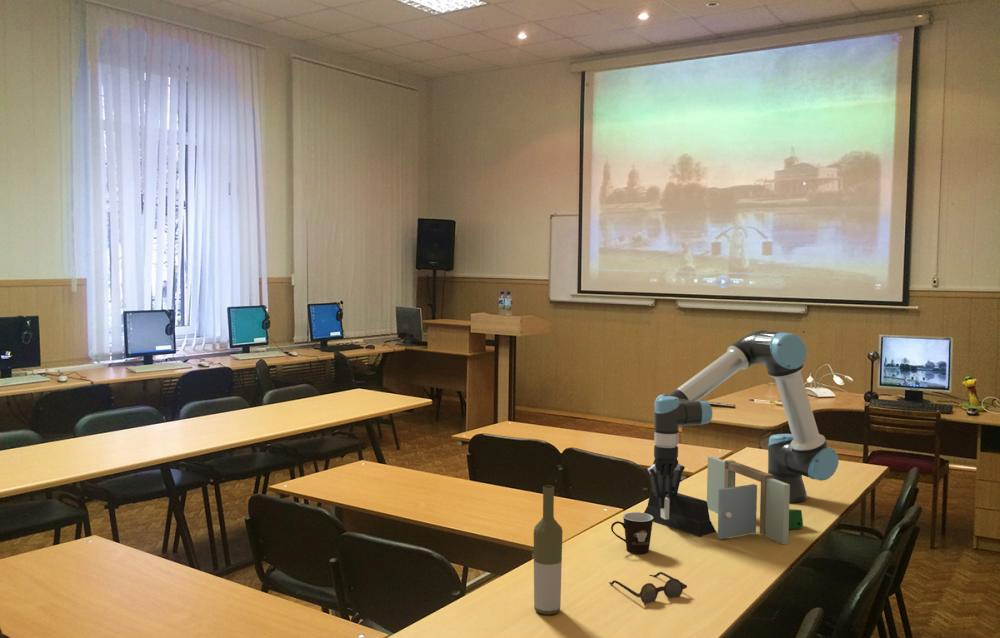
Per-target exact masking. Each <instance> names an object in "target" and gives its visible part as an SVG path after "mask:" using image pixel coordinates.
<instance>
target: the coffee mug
mask: <svg viewBox="0 0 1000 638" xmlns="http://www.w3.org/2000/svg"><path fill="white" fill-rule="evenodd" d="M622 519H623V522H622V521H619V520H617V521H614V522H612V524H611V525H610V526H611V527H610V530H611V532H612V534H614V536H615V537H617V538H619V539H620V540H621V541H623V542H624V543H625V548H626V551H627V552H628V553H630V554H633V555H646V554H648V553H650V552H649V551H650V544H651V536H652V530H653V524H654V522H653V516H651V515H649V514H646V513H644V512H639V511H636V512H635V511H633V512H626V513H624V514H623V516H622ZM617 524H620V525H621V526H622V527H623V529H624V536H625V537H622V536H620V535H618V534H617V533H616V532H615V530H614V526H615V525H617Z"/></svg>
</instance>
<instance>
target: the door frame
mask: <svg viewBox="0 0 1000 638" xmlns="http://www.w3.org/2000/svg"><path fill="white" fill-rule="evenodd" d="M706 474H707V475H706V477H707V478H706V479H707V480H706V481H707V482H706V502H707V505H708V510H710V511H712V512H714V513H716V514H718V502H719V489H724V488H731V487H736V474H738V475H741V476H743V477H744V476H745V477H747V478H749V479H751V480H755V481H757V482H760V503H759V504H760V505H759V507H760V508H759V535H762V536H763V537H766V538H769V539H771V540H773V541H775V542H777V543H779V544H782V545H788V544H789V530H790V529H789V509H790V503H789V497H790V484H787V483H784V482H781V481H779V480H776V479H773V475H772V474H770V473H768V472H764V471H762V470H759V469H757V468H753V467H752V466H748V465H745V464H743V463H739V462H737V461H736V460H733V459H729V460H724V459H722V458H718V457H715V456H707V473H706Z"/></svg>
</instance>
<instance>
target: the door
mask: <svg viewBox="0 0 1000 638" xmlns="http://www.w3.org/2000/svg"><path fill="white" fill-rule="evenodd" d="M757 500H758V485H757V484H746V485H738V486H735V487H731V488H724V489H719V502H718V513H717V514H718V515H717V539H720V540H723V539H729V538H735V537H740V536H741V537H742V536H746V535H751V534H756V533H757V509H758V508H757V507H758V506H757V502H758V501H757Z"/></svg>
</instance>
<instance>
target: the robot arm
mask: <svg viewBox="0 0 1000 638" xmlns="http://www.w3.org/2000/svg"><path fill="white" fill-rule="evenodd" d="M807 354H808V351H807V347H806V344H805V342H804V340H803V339H802V338H800V336H798V335H797V334H795V333H790V332H786V331H773V330H772V331H771V330H755V331H753V332H750V333H748V334H747V335H744V336H743V337H741V338H740V339H738V340H736V341H735V342H734V343H732V344H731V345H730V346H728V347H727V350H726V352H725V353H723V354H722V355H721V356H719V358H718V357H717V359H716V360H714V361H713V362H711V363H710V364H708V365H707V366H706V367H705V368H703V369H702V370H701V371H698V372H697V373H696V374H695V375H694V376H692V377H691V378H689V379H688V380H687V381H686V382H684V383H682V384H681V385H680V386H679V387H677V388H676V389H674V390H673V391H671V392H670V393H669V394H667V393H663V394H660V395H658V396H657V397H656V398H655V400H654V403H653V404H654V411H653V412H654V433H653V434H654V438H653V442H654V444H655V445H654V446H653V457H654V460H653V463H652V465H651V466H650V467H646V471H647V473H648V475H649V479H650V484H651V489H652V490H653V495H654V496H656V497H658V498H659V508H661V518H663V519H669V508H671V499H673V498H674V497H673V496H676V495H677V493H679V487H680V484H681V478H682V474H683V472H684V471H685V468H686V467H685V466H684V465H681V464H680V462H679V460H678V457H679V447H678V445H679V429H680V428H679V427H682V426H702V425H706V424H707V425H708V424H709V423H710V422H711V421H712V419H713V408H712V406H711V403H709V402H708V401H705V400H701V399H702V398H704V397H705V396H706V395H708V394H710V393H711V392H712V391H714V390H715V389H716V388H718V387H719V386H720V385H721V384H723V383H724V382H725V381H727V380H728V379H730V378H731V377H732V376H733V375H735V374H736V373H738V372H739V371H740V370H747V369H748V368H749V367H751V366H753V365H758V364H761V365H765V367H766V371H767V374H768V376H769V377H771V378H772V379H773V378H774V381H775V385H776V387H777V390H778V394H779V397H780V400H781V404H782V408H783V410H784V413H785V416H786V420H787V423H788V425H789V430H790V432H791V433H778V434H773V435H770V437H769V439H768V445H767V449H768V451H767V455H768V456H767V459H768V460H767V473H770V474H772V475H773V479H776V480H779V481H781V482H784V483H787V484H790V497H789V504H790V503H802V502H805V501H807V495H808V493H807V490H806V487H805V484H804V483H805V482H804V481H803V476H804V477H806V478H810V479H811V480H817V481H821V482H823V481H827V480H829V479H830V478H831V477H832V476H834V474H835V473H836V471H837V469H838V468H839V467H838V466H839V464H840V463H839V461H840V460H839V455H838V453H837V451H836V450H835V449H833V448H831V447H829V445H828V443H827V440H826V437H825V435H823V434H820V433H819V429H818V426H817V423H816V419H815V415H814V413H813V409H812V406H811V403H810V399H809V396H808V393H807V389H806V387H805V386H806V385H805V383H804V380H803V376H802V373H801V372H802V370H803V369H804V367H805V366H804V364H805V362H806V359H807V358H806V357H807ZM665 496H666V497H665Z"/></svg>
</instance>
